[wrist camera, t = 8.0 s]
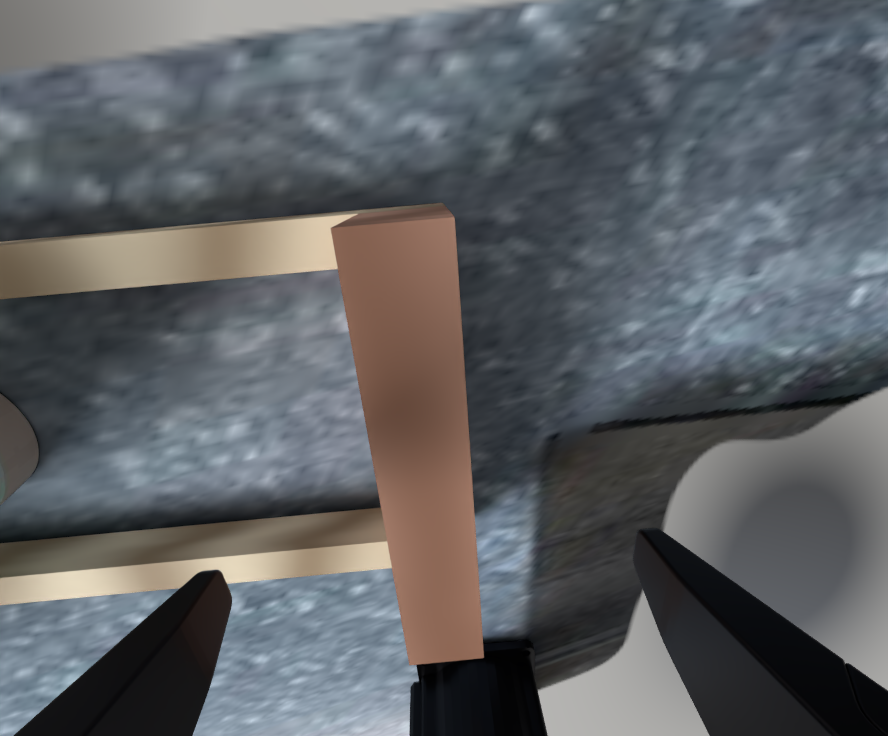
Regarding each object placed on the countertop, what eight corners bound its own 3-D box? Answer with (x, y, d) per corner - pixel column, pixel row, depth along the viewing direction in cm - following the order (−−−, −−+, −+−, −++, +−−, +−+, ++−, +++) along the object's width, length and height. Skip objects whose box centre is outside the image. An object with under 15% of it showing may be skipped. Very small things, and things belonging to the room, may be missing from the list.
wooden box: (442, 202, 14) (454, 217, 9) (467, 525, 20) (484, 657, 14) (-331, 270, 14) (-824, 330, 8) (-81, 576, 20) (-277, 731, 14)
